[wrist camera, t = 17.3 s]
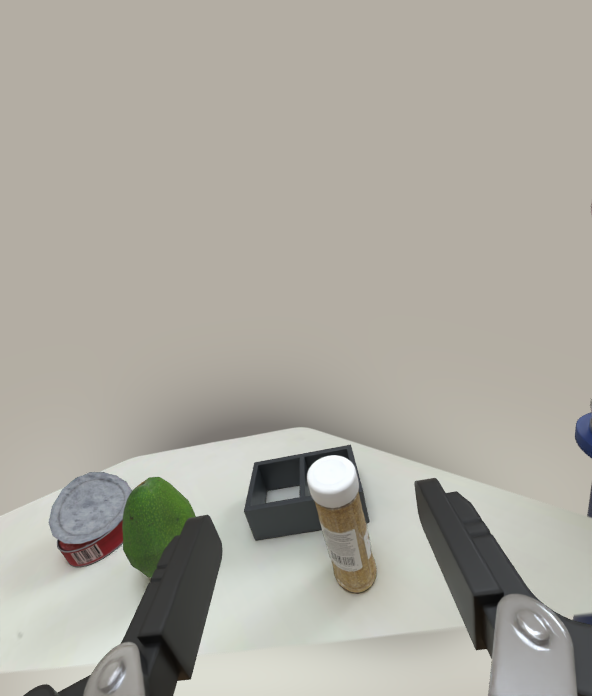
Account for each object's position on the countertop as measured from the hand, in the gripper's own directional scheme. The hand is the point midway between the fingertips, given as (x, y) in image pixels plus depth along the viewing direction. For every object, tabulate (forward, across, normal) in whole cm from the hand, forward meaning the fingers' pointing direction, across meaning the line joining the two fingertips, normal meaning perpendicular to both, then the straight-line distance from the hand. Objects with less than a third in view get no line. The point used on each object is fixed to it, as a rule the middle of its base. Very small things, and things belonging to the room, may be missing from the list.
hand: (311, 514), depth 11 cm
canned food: (+22, +36, +23) cm, 48 cm away
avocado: (+16, +22, +23) cm, 36 cm away
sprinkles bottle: (+12, 0, +23) cm, 26 cm away
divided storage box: (+21, +4, +23) cm, 32 cm away
